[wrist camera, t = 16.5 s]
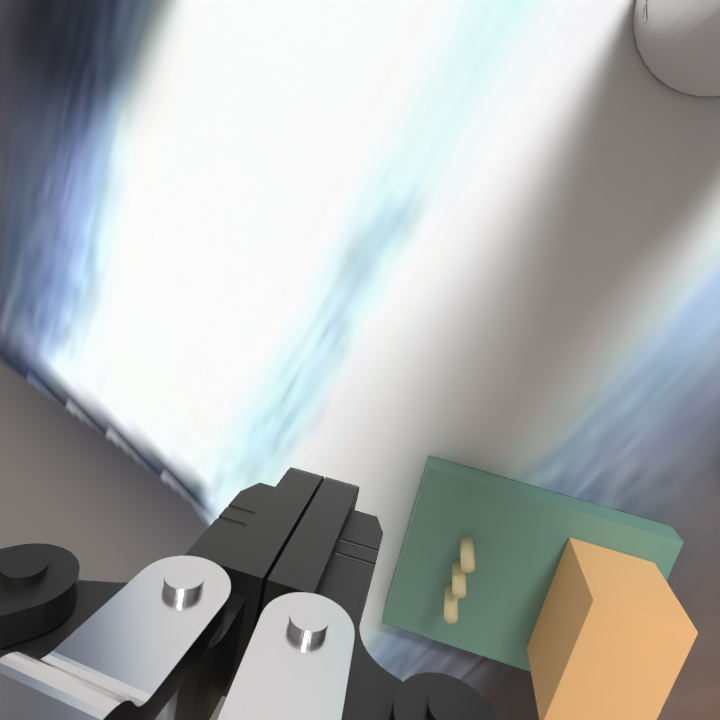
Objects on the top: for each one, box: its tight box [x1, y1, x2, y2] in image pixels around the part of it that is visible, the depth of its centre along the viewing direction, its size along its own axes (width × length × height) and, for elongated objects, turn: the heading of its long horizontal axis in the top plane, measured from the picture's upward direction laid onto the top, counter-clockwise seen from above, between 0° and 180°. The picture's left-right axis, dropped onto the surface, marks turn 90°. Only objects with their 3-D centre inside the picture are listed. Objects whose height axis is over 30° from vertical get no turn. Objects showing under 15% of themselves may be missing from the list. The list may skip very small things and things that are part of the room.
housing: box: [527, 537, 698, 720], centre depth 33 cm, size 6×9×6 cm, turn 166°
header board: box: [382, 456, 684, 672], centre depth 36 cm, size 17×13×5 cm
